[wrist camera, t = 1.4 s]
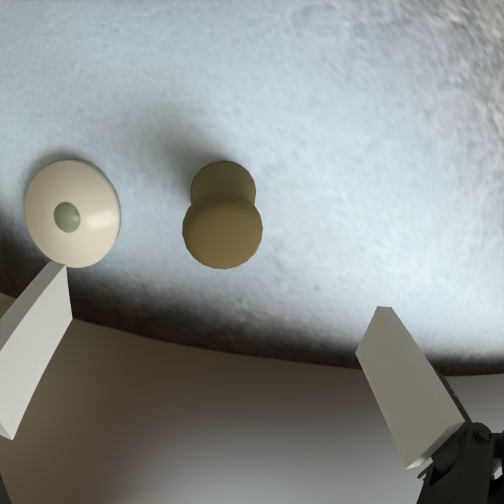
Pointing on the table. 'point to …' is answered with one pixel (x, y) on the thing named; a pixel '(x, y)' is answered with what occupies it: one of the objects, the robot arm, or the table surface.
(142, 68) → the table surface
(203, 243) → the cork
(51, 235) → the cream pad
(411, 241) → the table surface
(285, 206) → the table surface
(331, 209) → the table surface
